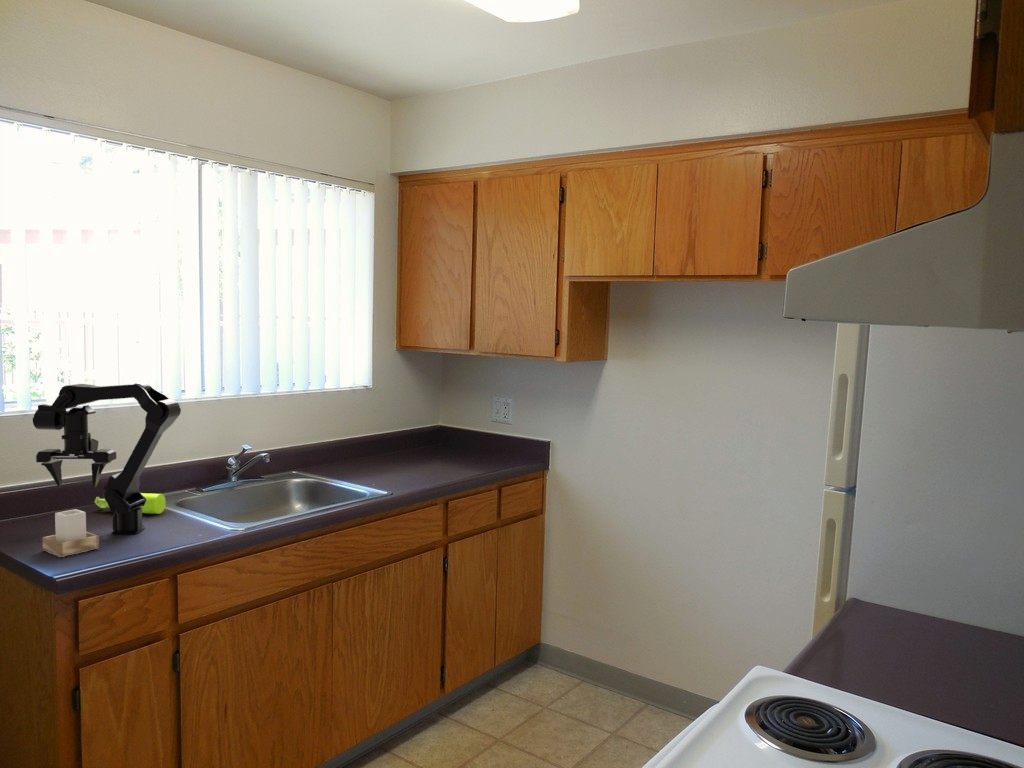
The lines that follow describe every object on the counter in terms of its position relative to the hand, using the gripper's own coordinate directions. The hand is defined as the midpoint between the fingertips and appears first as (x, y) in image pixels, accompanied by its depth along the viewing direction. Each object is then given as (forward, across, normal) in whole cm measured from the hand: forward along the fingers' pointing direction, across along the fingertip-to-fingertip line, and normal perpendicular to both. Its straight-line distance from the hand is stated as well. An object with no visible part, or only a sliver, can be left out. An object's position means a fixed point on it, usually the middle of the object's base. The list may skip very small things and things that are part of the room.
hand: (77, 486), depth 207 cm
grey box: (+11, -7, +19) cm, 23 cm away
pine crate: (+12, -7, +19) cm, 24 cm away
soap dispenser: (+9, -16, -18) cm, 26 cm away
